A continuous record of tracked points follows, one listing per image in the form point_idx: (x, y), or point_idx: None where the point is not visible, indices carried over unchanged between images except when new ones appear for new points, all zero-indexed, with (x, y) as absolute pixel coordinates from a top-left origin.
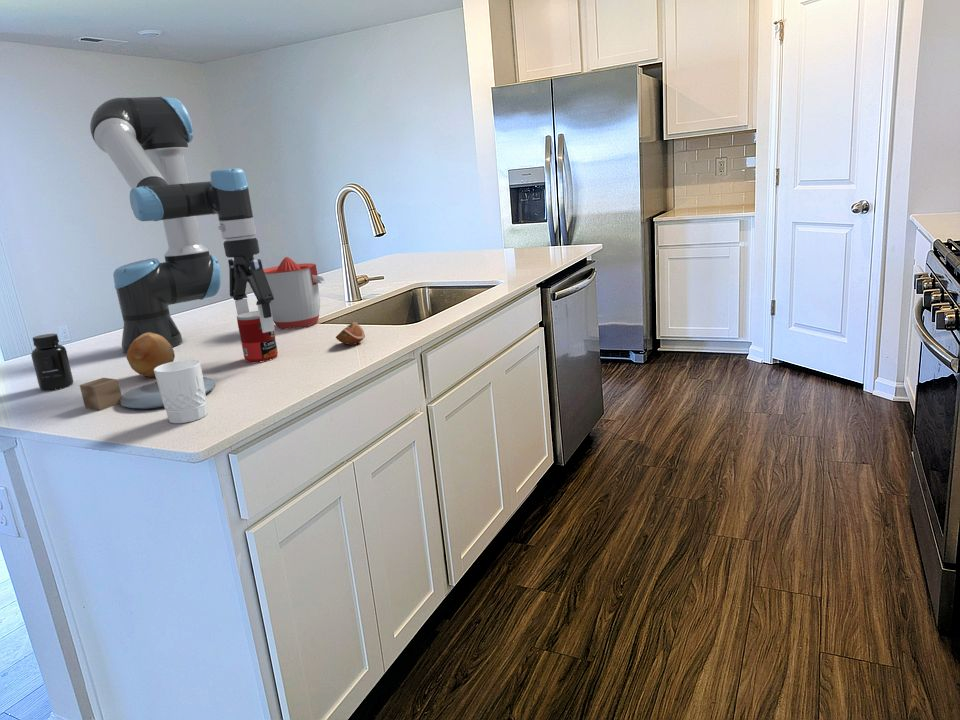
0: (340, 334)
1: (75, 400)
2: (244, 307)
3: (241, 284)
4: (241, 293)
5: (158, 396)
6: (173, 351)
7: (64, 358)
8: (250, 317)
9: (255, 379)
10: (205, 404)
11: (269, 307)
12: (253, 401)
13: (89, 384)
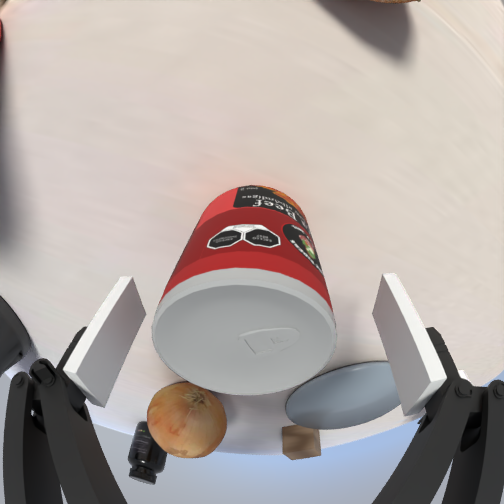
0: (407, 1)
1: (242, 436)
2: (103, 352)
3: (108, 488)
4: (78, 419)
5: (368, 410)
6: (196, 407)
7: (154, 455)
8: (313, 376)
9: (423, 305)
10: (467, 378)
11: (453, 365)
12: (488, 329)
13: (301, 457)
